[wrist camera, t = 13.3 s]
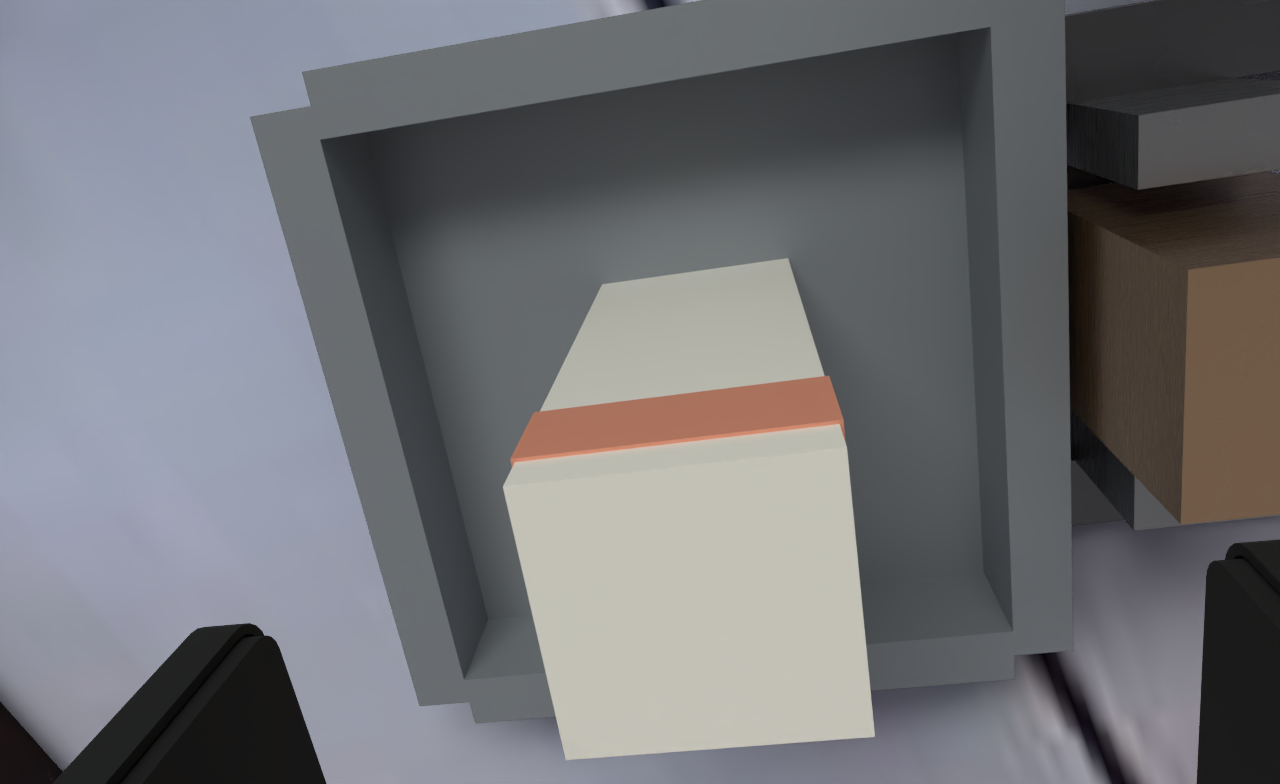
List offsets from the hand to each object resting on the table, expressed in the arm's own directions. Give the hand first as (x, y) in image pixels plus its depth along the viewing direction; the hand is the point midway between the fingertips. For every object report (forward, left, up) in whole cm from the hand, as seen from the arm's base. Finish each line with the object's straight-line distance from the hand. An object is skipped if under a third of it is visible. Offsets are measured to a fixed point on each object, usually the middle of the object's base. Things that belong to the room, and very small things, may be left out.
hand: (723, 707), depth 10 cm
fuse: (0, 0, -12) cm, 12 cm away
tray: (+1, 0, -13) cm, 13 cm away
